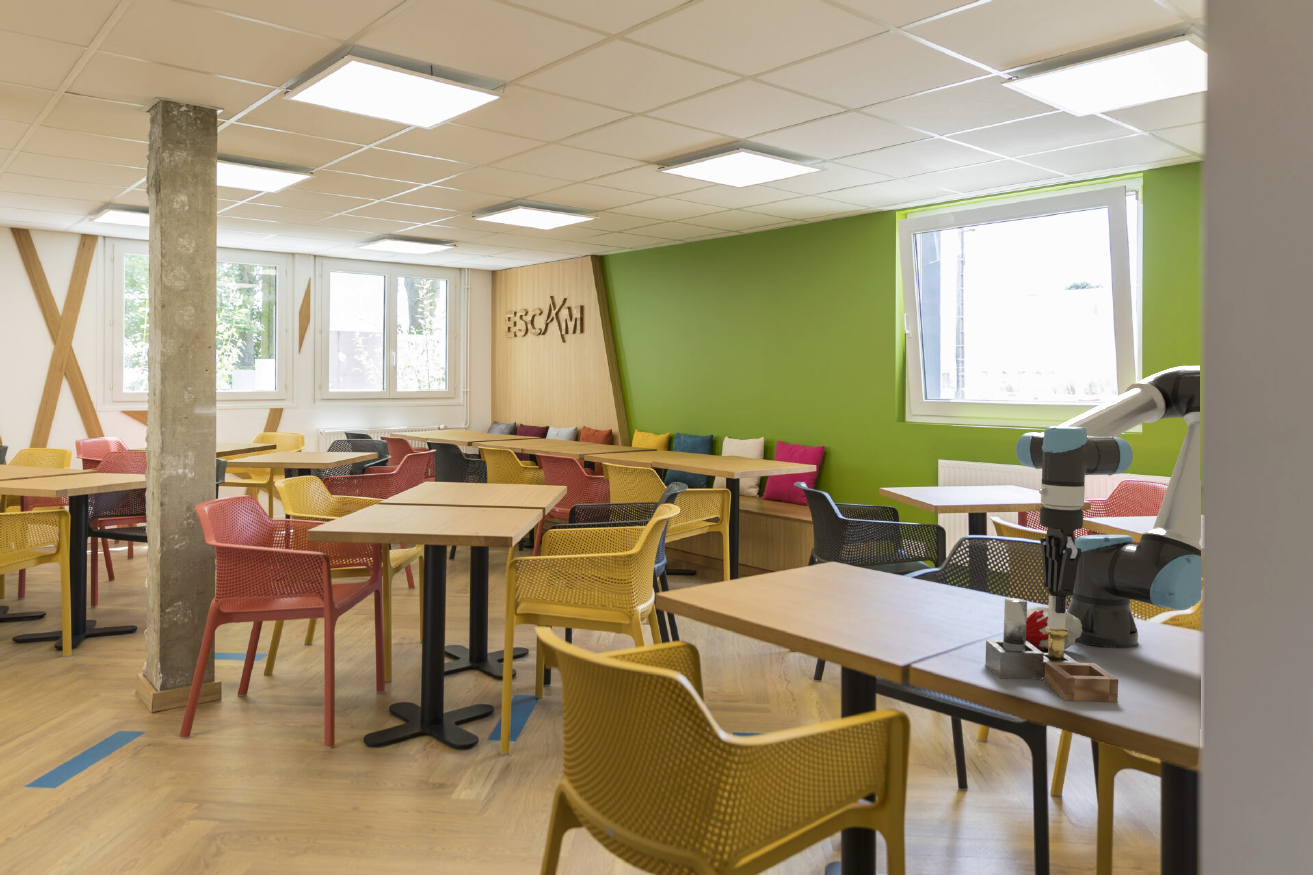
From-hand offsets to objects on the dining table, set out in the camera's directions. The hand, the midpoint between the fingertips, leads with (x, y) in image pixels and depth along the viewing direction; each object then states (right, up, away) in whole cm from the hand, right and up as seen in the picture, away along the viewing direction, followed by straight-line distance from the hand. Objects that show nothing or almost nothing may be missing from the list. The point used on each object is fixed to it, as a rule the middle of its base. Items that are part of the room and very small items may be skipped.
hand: (1056, 627), depth 165 cm
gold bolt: (0, -7, +1) cm, 7 cm away
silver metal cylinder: (-8, -9, +1) cm, 12 cm away
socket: (-5, -9, +1) cm, 10 cm away
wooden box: (0, -9, -10) cm, 14 cm away
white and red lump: (+4, -8, +16) cm, 19 cm away
